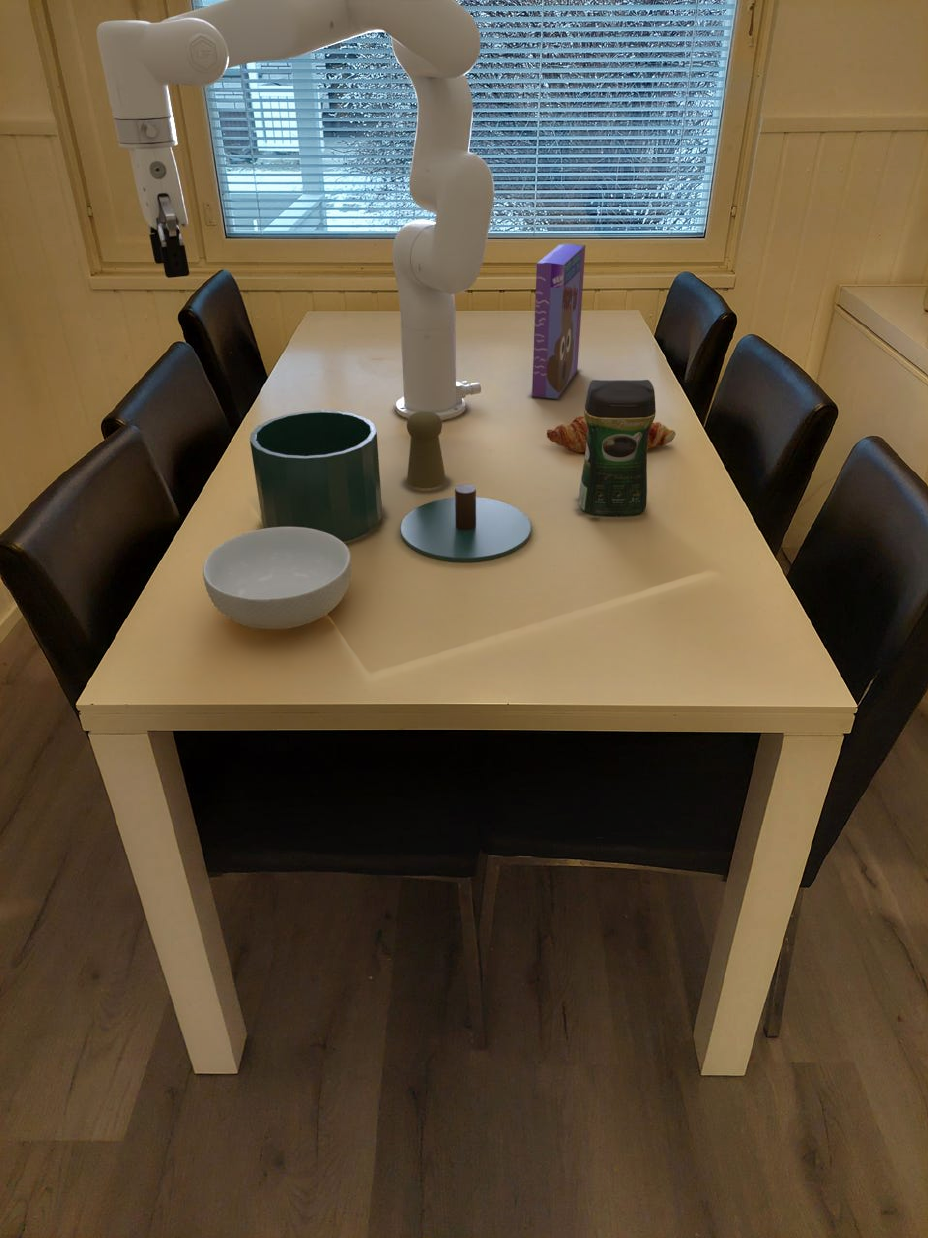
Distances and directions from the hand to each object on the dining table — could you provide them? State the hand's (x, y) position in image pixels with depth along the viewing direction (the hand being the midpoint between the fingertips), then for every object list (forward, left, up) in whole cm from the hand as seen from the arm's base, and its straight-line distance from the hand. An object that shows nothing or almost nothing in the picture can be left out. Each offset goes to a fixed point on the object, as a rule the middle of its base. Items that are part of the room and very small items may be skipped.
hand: (171, 269), depth 126 cm
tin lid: (-25, +42, -29) cm, 57 cm away
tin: (-9, +29, -29) cm, 42 cm away
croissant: (-60, +27, -30) cm, 72 cm away
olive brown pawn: (-27, +25, -30) cm, 47 cm away
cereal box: (-69, -4, -30) cm, 75 cm away
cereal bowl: (+3, +49, -30) cm, 57 cm away
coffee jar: (-47, +45, -30) cm, 72 cm away
